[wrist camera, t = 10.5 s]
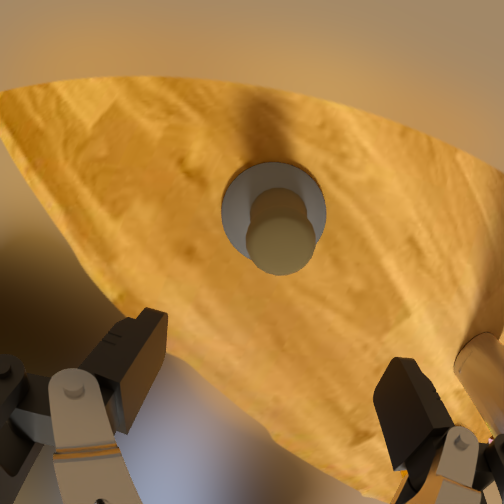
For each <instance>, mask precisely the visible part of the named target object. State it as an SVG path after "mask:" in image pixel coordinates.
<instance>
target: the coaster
mask: <svg viewBox="0 0 504 504" xmlns="http://www.w3.org/2000/svg"><path fill="white" fill-rule="evenodd" d="M271 188H286V189H289V190H292V191H293V192H295V193H296V194H298V195H299V196H300V198H301V199H302V200H303V202H304V203H305V206H306V209H307V218H308V220H309V221H310V222H311V224H312V225H313V228H314V232H315V235H316V244H317V242H318V241H319V239H320V237H321V235H322V233H323V230H324V227H325V222H326V205H325V201H324V198H323V195H322V192H321V191H320V189H319V187H318V185H317V184H316V183H315V181H314V180H313V179H312V178H311V177H310V176H309V175H308V174H306V173H305V172H304V171H302V170H300V169H299V168H297V167H294V166H292V165H289V164H286V163H280V162H268V163H262V164H258V165H255V166H253V167H250V168H249V169H247V170H245V171H244V172H242V173H241V174H240V175H239V176H238V177H236V178H235V179H234V181H233V182H232V183H231V185H230V186H229V188H228V190H227V191H226V194H225V196H224V199H223V203H222V223H223V227H224V231H225V233H226V235H227V237H228V239H229V241H230V242H231V243H232V245H233V246H234V247H235V248H236V249H237V250H238V251H239V252H240V253H241V254H243V255H244V256H245V257H247V258H249V259H251V258H250V256H249V254H248V251H247V249H246V238H245V237H246V233H247V230H248V226H249V224H250V210H251V206H252V203H253V202H254V200H255V199H256V197H257V196H258V195H260V194H261V193H262V192H264V191H265V190H268V189H271Z"/></svg>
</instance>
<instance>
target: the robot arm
mask: <svg viewBox="0 0 504 504" xmlns="http://www.w3.org/2000/svg"><path fill="white" fill-rule="evenodd" d="M167 326H168V314H167V313H165V312H162V311H158V310H155V309H151V308H148V307H146V308H144V310H143V311H142V312H141V313H140V314H139V316H138V317H137V318H136V319H133V318H130V317H127V318H125V319H124V320H121V321H119V322H117V323H116V324H115V325H114V326H113V327H112V328H111V329H110V331H109V332H108V334H106V335H105V336H104V338H103V339H102V341H100V342H99V344H98V345H97V346H96V347H95V348H94V349H93V351H92V352H91V353H90V354H89V355H88V357H87V358H86V359H85V360H84V361H83V363H82V364H81V365H80V366H79V367H78V369H65V370H62V371H60V372H58V373H56V374H55V375H54V376H53V377H52V378H49V377H44V376H39V375H34V374H29V373H26V371H25V368H24V365H23V363H22V362H21V360H20V359H18V358H17V357H15V356H13V355H8V354H1V355H0V504H13V503H14V501H15V498H16V496H17V495H18V492H19V490H20V488H21V486H22V485H23V483H24V481H25V479H26V477H27V475H28V473H29V471H30V469H31V467H32V466H33V464H34V462H35V460H36V458H37V456H38V455H39V453H40V451H41V449H42V447H43V446H44V444H47V445H51V446H55V447H56V453H54V454H53V462H54V467H55V472H56V476H57V480H58V485H59V489H60V492H61V496H62V499H63V503H64V504H143V503H142V501H141V499H140V497H139V495H138V493H137V491H136V488H135V486H134V484H133V482H132V479H131V477H130V474H129V472H128V470H127V467H126V464H125V462H124V459H123V457H122V454H121V452H120V449H119V447H118V446H117V444H116V441H115V438H114V435H115V433H116V431H119V432H121V433H124V434H128V432H129V430H130V428H131V426H132V424H133V422H134V420H135V418H136V416H137V414H138V412H139V410H140V408H141V406H142V404H143V401H144V400H145V398H146V396H147V394H148V392H149V390H150V388H151V386H152V384H153V382H154V380H155V378H156V376H157V374H158V372H159V370H160V368H161V366H162V364H163V361H164V357H165V353H166V340H167ZM454 373H455V375H456V376H457V378H458V379H459V381H460V382H461V384H462V385H463V387H464V389H465V390H466V392H467V393H468V395H469V396H470V398H471V400H472V401H473V403H474V405H475V406H476V408H477V409H478V411H479V413H480V414H481V416H482V418H483V419H484V421H485V423H486V425H487V426H488V428H489V430H490V432H491V433H492V435H493V437H494V440H493V441H492V442H491V443H490V444H485V443H478V440H477V438H476V436H475V435H474V434H473V433H472V432H471V431H470V430H469V429H467V428H464V427H461V426H455V425H454V423H453V421H452V419H451V417H450V415H449V413H448V411H447V409H446V408H445V406H444V404H443V402H442V400H440V399H441V398H440V396H439V395H438V393H436V389H435V387H434V386H433V384H432V382H431V381H430V380H429V379H428V378H427V377H426V376H425V375H424V374H423V373H422V372H421V370H420V368H419V366H418V365H417V363H416V361H415V360H414V359H412V358H402V357H394V358H393V359H392V360H391V362H390V363H389V365H388V367H387V369H386V371H385V372H384V374H383V376H382V378H381V379H380V381H379V383H378V385H377V386H376V388H375V391H374V395H373V403H374V406H375V409H376V412H377V415H378V419H379V422H380V425H381V428H382V432H383V435H384V438H385V442H386V445H387V449H388V452H389V456H390V459H391V463H392V466H393V470H394V471H401V470H407V472H408V474H407V475H406V476H405V477H404V478H403V479H402V481H401V483H400V485H399V487H398V489H397V491H396V493H395V495H394V497H393V499H392V501H391V503H390V504H487V502H486V499H485V496H484V493H483V490H484V489H485V488H486V487H487V486H489V485H490V484H491V483H492V482H493V481H494V480H495V482H496V484H497V487H498V490H499V492H500V496H501V499H502V504H504V346H503V345H502V344H501V343H500V342H499V341H498V339H497V338H496V337H495V336H494V335H493V334H491V333H482V334H480V335H478V336H476V337H475V338H473V339H472V340H471V341H469V342H468V343H467V344H466V345H465V347H464V348H463V349H462V350H461V352H460V353H459V355H458V357H457V359H456V361H455V364H454Z"/></svg>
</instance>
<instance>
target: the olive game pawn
mask: <svg viewBox="0 0 504 504" xmlns="http://www.w3.org/2000/svg"><path fill="white" fill-rule="evenodd" d="M245 238H246V249H247V251H248V254H249V256H250V258H251V260H252V261H253V262H254V263H255V265H256V266H257V267H258V268H260V269H261V270H263V271H264V272H266V273H269V274H273V275H289V274H292V273H295V272H297V271H299V270H300V269H302V268H303V267H304V266H306V264H307V263H308V262H309V260H310V259H311V258H312V255H313V252H314V249H315V246H316V235H315V232H314V228H313V225H312V224H311V222H310V221H309V220H308V218H307V209H306V206H305V203H304V202H303V200H302V199H301V198H300V196H299V195H298V194H296V193H295V192H293V191H292V190H289V189H286V188H271V189H268V190H265V191H264V192H262V193H261V194H260V195H258V196H257V197H256V199H255V200H254V202H253V203H252V206H251V210H250V224H249V226H248V230H247V233H246V237H245Z"/></svg>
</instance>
